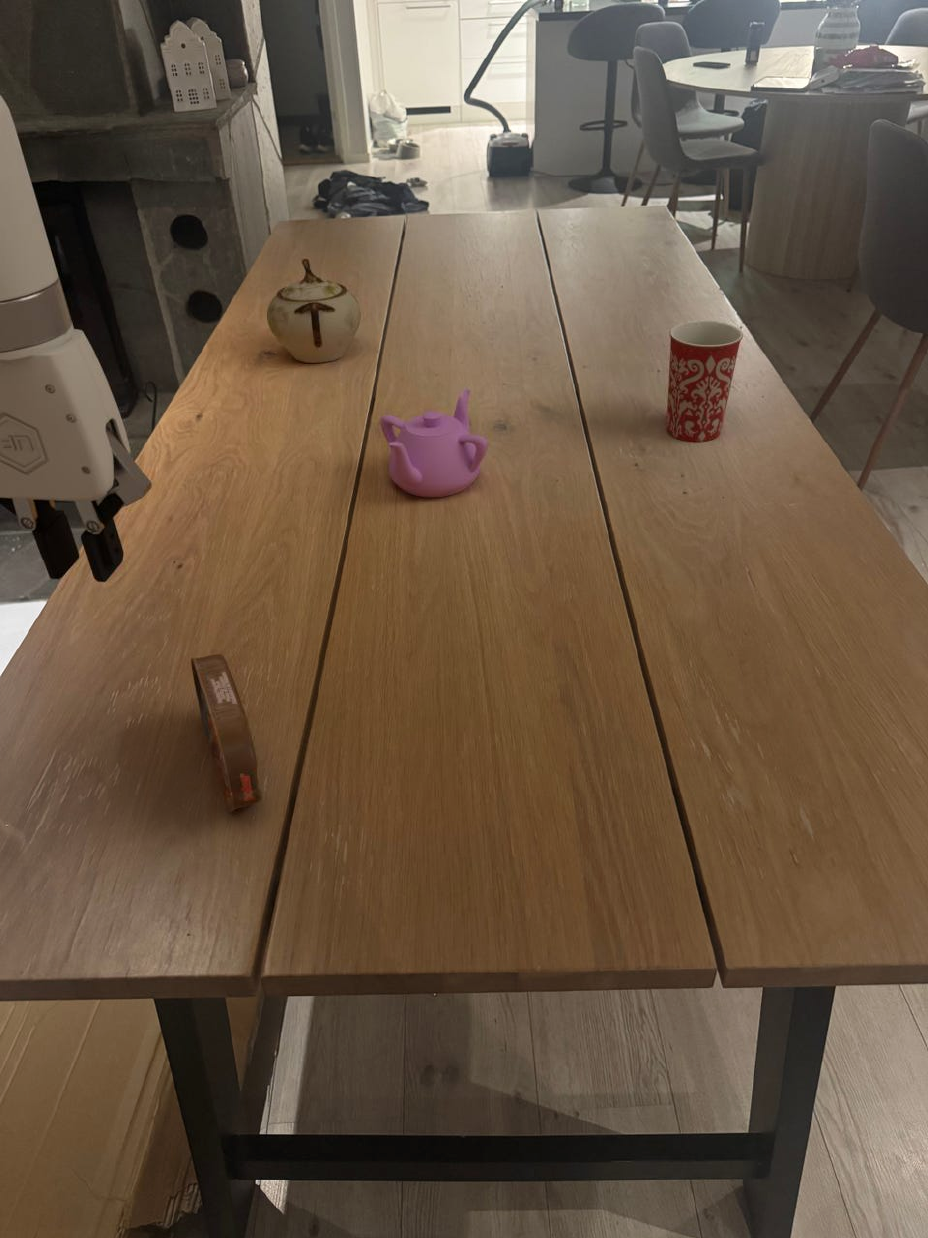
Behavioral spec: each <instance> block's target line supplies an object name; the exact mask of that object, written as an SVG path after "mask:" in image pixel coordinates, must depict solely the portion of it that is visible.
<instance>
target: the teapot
mask: <svg viewBox="0 0 928 1238" xmlns="http://www.w3.org/2000/svg"><path fill="white" fill-rule="evenodd" d="M470 395H471V390H470V389H465V390H463V391H462V392H461V393H460V395H459V396H458V399H457V403H456V406H455V409H454V415H449V414H446V413H441V412H440V411H438V410H427V411H425V412H423V413H422V414H419V415H417V416H414V417H412V418H409V420H407V421H404V420H403V419H400V418H399V417H397V416H394V415H391V414H384V415H382V416H381V418H380V427H381V430H382V434H383V436H384V438H385V440H386V442H387V445H388V446H389V447H390V449H391V451H390V453H389V458H388V459H389V460H388V474H389V477H390V478H391V480H392V481H393V482H394V483H395V485H397V486H398V487H399V488H400V489H402V491H404V492H405V493H408V494H410V495H413V496H416V497H420V498H443V497H444V498H445V497H450V496H452V495H456V494H459V493H460V492H463V491H465V490H466V489H467V488H469V486H470V485H471V484H473V482H474V481H475V480H476V479H477V478H478V476H479V474H480V473H481V469H482V462H483V460H484V458H485V456H486V455H487V453H488V449H489V443H488V440H487V438H486V437H485V436H483V435H479V434H471V426H470V420H469V418H470V417H469V414H468V402H469V398H470ZM394 427H396V428H397V429H399V430H400V431H399V432H398V435H397V436H396V434H395V431H394Z"/></svg>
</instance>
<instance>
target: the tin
mask: <svg viewBox="0 0 928 1238" xmlns="http://www.w3.org/2000/svg"><path fill="white" fill-rule="evenodd" d="M190 664H191V672H192V677H193V678H192V679H193V682H194V687H195V692H196V697H197V701H198V707H199V711H200V718H201V721H202V726H203V730H204V734H205V737H206V740H207V744H208V748H209V750H210V755H211V757H212V761H213V764H214V768H215V771H216V774H217V777H218V782H219V785H220V788H221V791H222V795H223V798H224V802H225V804H226V807H227V809H228V811H229V812H233V811H234V810H236V809H240V808H244V807H248V806H252V805H254V804H257V803H259V802H260V801H261V800H262V799H263V793H262V790H261V789H260V784H259V778H258V758H257V753H256V747H255V744H254V739H253V736H252V732H251V728H250V725H249V722H248V718H247V716H246V712H245V709H244V706H243V703H242V700H241V697H240V694H239V691H238V688H237V686H236V683H235V680H234V677H233V675H232V673H231V670H230V667H229V665H228V662H227V660H226V658H225V656H224V655H223V654H221V653H219V654H211V655H206V656H202V657H201V656H200V657H197V658H195V657H191V658H190Z"/></svg>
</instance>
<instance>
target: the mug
mask: <svg viewBox="0 0 928 1238" xmlns="http://www.w3.org/2000/svg"><path fill="white" fill-rule="evenodd" d="M668 334H669V339H670V343H669V344H670V345H669V365H668V384H667V403H666V404H667V405H666V407H667V408H666V420H665V421H666V422H665V423H666V424H665V426H666V427H665V429H666V432H667V433H668V434H669V435H670V436H671V437H672V438H675V439H677V440H681V441H684V442H689V443H704V442H709V441H712V440H715V439H717V438H718V437H719V436H720V435H721V433H722V430H723V425H724V420H725V415H726V409H727V404H728V400H729V395H730V391H731V387H732V382H733V381H732V380H733V376H734V372H735V368H736V363H737V358H738V353H739V348H740V344H741V341H742V340H743V337H744V334H743V332H742V330H741V329H739V328H738V327H737V326H735V325H732V324H729V323H726V322H723V321H716V320H691V321H685V322H680V323H678V324H676V325H673V326H672V327H671V328H670V329H669V333H668Z"/></svg>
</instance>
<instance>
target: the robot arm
mask: <svg viewBox="0 0 928 1238" xmlns="http://www.w3.org/2000/svg"><path fill="white" fill-rule="evenodd" d="M22 149H23V148H22V146H21V143H20V139H19V136H18V131H17V129H16V125H15V123H14V119H13V116H12V114H11V111H10V108H9V106H8V104H7V102H6V101H5V99H4V98H3V96H2V95H1V94H0V505H1V506H2V507H3V508H4V509H6V510H7V511H8V512H10V513H11V514H13V515H14V516H15V517H17V520H18V521H17V522H18V523H19V525H20V527H21V528H22V529H24V530H25V531H27V532H28V531H29V532H31V533H32V535H33V538H34V540H35V544H36V546H37V548H38V553H39V555H40V557H41V559H42V561H43V563H44V565H45V569H46V571H47V574H48V577H49V578H50V580H60V579H61V578H63V577H64V576H65V575H66V574H67V573H68V572H69V571H70V570H71V568H72V567H73V566H74V565H75V563H77V562H78V560H79V559H80V551H79V548H78V546H77V543H76V539H75V537H74V534H73V532H72V528H71V525H70V522H69V519H68V516H67V514H65V511H64V510H63V509H56V503H55V501H61V502H74V504H75V506H76V509H77V512H78V514H79V516H80V519H81V521H82V524H83V526H84V531H82V533H81V535H80V541H81V543H82V547H83V550H84V553H85V556H86V558H87V559H86V560H87V561H88V565H89V568H90V571H91V574H92V576H93V579H94V580H95V581H96V582H97V583H106V582H107V581H108V580H109V579H110V578H111V576H112V575H113V574H114V573H115V571H116V570H117V569H118V567H120V565H121V564H122V563H123V560H124V553H125V552H124V549H123V545H122V542H121V538H120V535H119V531H118V529H117V526H116V522H115V517H116V516H117V514H118V513H119V512H120V510H122V508H124V507H127V506H130V505H131V504H132V505H133V504H134V503H136V502H138V501H140V500H142V499H144V497H145V496H146V495H147V494H148V493H149V492H150V490H151V489H152V487H153V485H152V481H151V480H150V479H149V477H148V476H147V474H145V473H144V471H143V470H142V469H141V467H140V466H139V465H138V463H136V461H135V460H134V458H133V457H132V451H131V447H130V443H129V439H128V434H127V432H126V429H125V425H124V422H123V419H122V416H121V413H120V410H119V407H118V404H117V402H116V400H115V397H114V393H113V392H112V389H111V386H110V383H109V381H108V379H107V376H106V375H105V373H104V370H103V367H102V366H101V363H100V361H99V359H98V357H97V355H96V353H95V350H94V349H93V346H92V345H91V344H90V342H89V339H88V338H87V336H86V334H85V333H84V331H83V330H82V329H78V328H74V325H73V320H72V317H71V314H70V310H69V307H68V303H67V300H66V296H65V293H64V290H63V287H62V283H61V279H60V276H59V274H58V273H59V272H58V270H57V267H56V263H55V259H54V256H53V253H52V250H51V249H52V248H51V245H50V242H49V239H48V236H47V232H46V228H45V225H44V222H43V218H42V214H41V211H40V208H39V203H38V200H37V198H36V193H35V190H34V187H33V184H32V179H31V177H30V173H29V171H28V166H27V163H26V160H25V156H24V153H23V150H22ZM114 480H116V481H117V483H118V484H117V485H115V486H114V487H113V485H114Z"/></svg>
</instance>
